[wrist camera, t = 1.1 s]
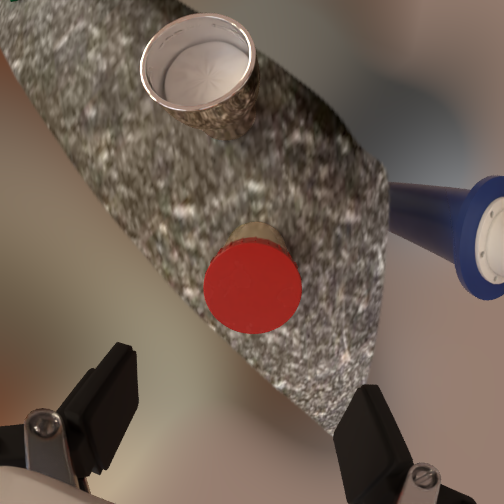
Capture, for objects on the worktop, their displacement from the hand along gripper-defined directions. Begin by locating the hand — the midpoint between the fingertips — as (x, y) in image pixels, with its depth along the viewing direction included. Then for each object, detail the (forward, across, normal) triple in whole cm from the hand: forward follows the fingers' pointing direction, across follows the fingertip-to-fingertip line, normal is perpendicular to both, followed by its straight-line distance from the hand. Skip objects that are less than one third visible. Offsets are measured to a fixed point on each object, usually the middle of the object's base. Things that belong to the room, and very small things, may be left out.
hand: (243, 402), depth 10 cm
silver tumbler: (+22, +6, -14) cm, 27 cm away
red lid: (+11, 0, 0) cm, 11 cm away
